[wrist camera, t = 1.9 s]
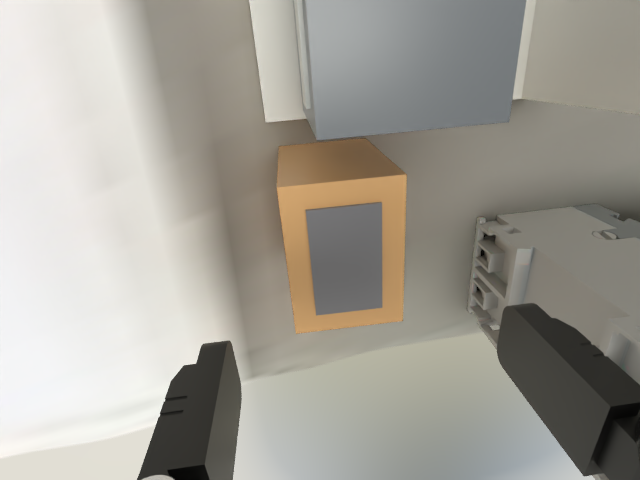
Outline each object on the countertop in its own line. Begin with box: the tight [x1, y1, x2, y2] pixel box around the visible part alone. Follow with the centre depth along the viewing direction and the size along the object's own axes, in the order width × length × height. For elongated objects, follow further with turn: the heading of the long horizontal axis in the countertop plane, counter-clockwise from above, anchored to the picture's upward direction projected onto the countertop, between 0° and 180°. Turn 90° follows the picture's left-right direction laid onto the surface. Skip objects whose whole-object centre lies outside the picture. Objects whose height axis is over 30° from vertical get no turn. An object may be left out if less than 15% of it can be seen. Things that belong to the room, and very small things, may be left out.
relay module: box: [277, 138, 407, 334], centre depth 19 cm, size 5×7×8 cm
